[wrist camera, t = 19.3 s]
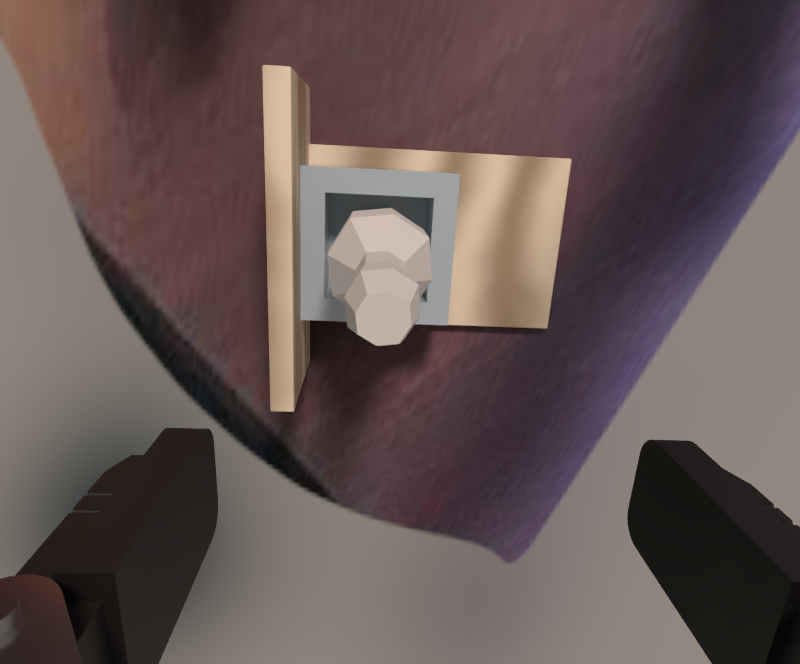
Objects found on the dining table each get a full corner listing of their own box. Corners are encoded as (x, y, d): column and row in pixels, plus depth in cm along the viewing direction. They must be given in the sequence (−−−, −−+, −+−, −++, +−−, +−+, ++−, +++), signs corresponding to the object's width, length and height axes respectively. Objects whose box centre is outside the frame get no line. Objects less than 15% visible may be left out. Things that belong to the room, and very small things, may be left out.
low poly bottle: (407, 287, 44) (438, 406, 23) (330, 268, 43) (289, 374, 22) (427, 209, 42) (482, 261, 21) (348, 189, 41) (321, 221, 20)
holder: (450, 172, 42) (460, 174, 37) (439, 307, 45) (447, 325, 41) (308, 164, 41) (300, 165, 36) (308, 302, 45) (300, 320, 40)
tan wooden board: (575, 104, 42) (635, 89, 32) (538, 367, 48) (578, 419, 39) (288, 86, 40) (262, 64, 31) (291, 359, 47) (270, 411, 38)
